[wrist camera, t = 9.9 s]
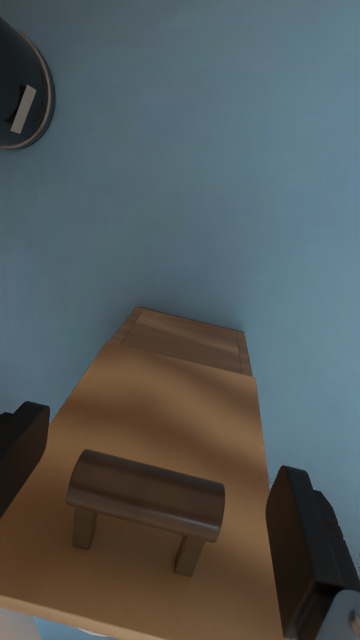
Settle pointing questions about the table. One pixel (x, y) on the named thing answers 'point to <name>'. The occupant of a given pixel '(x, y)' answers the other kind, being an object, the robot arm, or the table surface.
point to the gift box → (185, 340)
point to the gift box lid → (147, 507)
